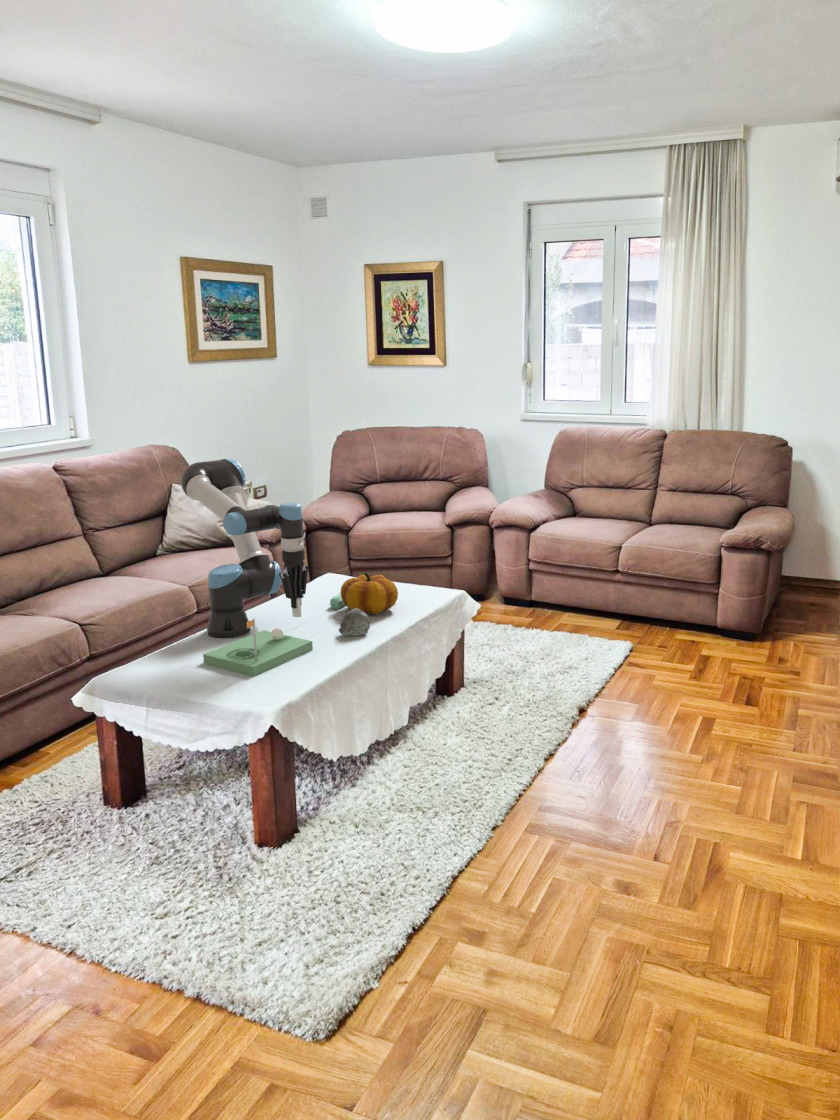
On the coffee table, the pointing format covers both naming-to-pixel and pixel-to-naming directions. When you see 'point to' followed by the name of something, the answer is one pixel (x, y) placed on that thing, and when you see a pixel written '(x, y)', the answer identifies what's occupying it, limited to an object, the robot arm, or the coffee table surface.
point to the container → (337, 602)
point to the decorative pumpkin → (369, 593)
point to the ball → (277, 634)
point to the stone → (354, 623)
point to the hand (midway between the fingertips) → (297, 616)
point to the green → (257, 652)
